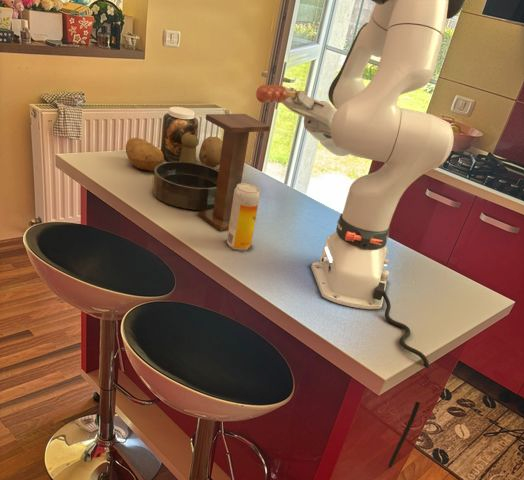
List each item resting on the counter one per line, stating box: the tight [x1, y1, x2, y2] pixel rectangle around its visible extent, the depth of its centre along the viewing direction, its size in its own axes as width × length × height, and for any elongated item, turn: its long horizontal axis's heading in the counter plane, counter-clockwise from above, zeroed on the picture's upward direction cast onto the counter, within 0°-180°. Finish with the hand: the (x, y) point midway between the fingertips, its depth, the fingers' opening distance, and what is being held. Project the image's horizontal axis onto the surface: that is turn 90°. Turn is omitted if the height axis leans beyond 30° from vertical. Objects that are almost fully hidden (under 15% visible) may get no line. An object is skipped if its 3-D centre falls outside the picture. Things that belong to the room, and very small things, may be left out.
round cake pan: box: [152, 161, 219, 211], centre depth 153 cm, size 20×20×6 cm
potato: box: [125, 137, 165, 172], centre depth 164 cm, size 10×14×8 cm
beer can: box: [226, 182, 261, 251], centre depth 131 cm, size 6×6×15 cm
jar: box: [160, 106, 200, 162], centre depth 176 cm, size 12×12×15 cm
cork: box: [179, 134, 199, 163], centre depth 169 cm, size 6×6×11 cm
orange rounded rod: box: [255, 84, 308, 104], centre depth 135 cm, size 16×4×4 cm, turn 131°
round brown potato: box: [198, 136, 223, 169], centre depth 175 cm, size 9×9×10 cm
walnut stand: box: [197, 113, 271, 232], centre depth 139 cm, size 12×10×26 cm
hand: (294, 92), depth 138 cm, fingers closed on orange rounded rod, 2 cm apart
